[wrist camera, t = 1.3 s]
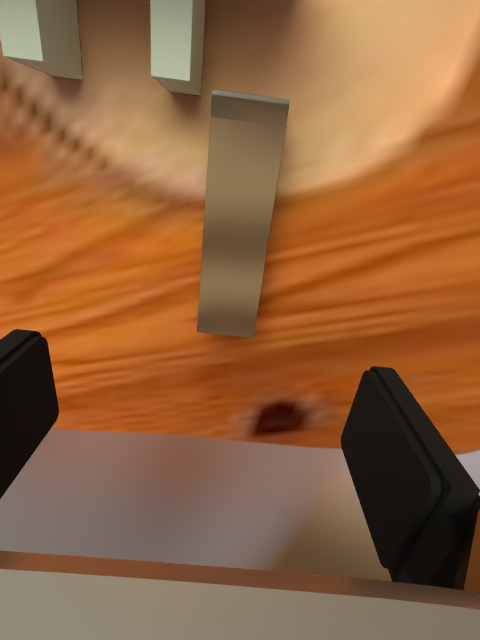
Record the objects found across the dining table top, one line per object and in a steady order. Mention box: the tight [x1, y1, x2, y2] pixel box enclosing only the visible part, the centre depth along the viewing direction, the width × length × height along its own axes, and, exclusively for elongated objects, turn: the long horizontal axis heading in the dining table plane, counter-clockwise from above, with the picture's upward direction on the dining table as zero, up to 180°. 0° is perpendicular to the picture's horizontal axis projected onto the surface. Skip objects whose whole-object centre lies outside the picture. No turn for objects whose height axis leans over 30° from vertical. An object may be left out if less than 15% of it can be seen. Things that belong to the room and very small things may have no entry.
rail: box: [197, 90, 290, 338], centre depth 22 cm, size 14×4×5 cm, turn 173°
